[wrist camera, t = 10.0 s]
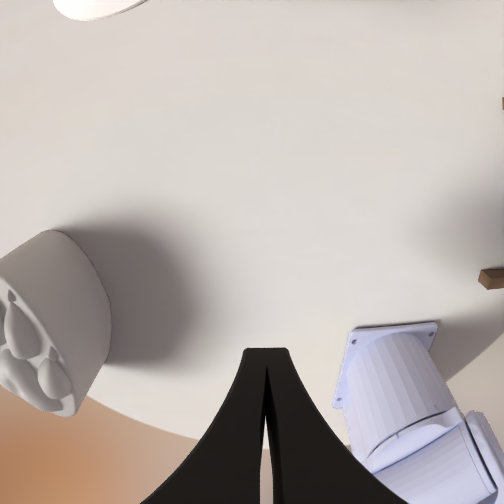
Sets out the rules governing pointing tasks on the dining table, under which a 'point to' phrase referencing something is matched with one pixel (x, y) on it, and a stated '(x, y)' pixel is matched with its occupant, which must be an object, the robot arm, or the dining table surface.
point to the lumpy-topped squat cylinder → (52, 323)
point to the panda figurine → (93, 8)
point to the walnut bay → (492, 273)
